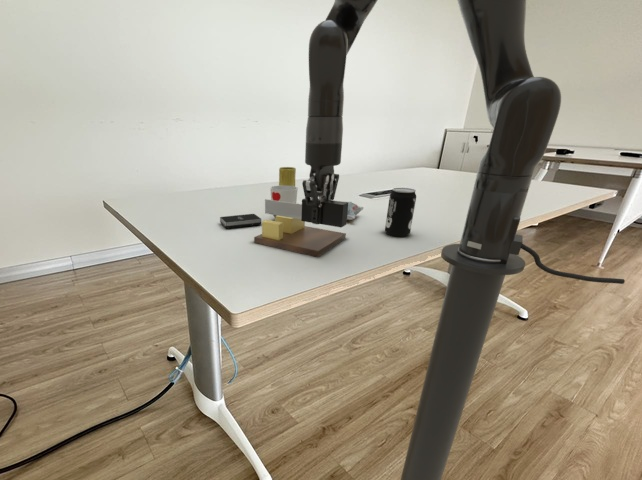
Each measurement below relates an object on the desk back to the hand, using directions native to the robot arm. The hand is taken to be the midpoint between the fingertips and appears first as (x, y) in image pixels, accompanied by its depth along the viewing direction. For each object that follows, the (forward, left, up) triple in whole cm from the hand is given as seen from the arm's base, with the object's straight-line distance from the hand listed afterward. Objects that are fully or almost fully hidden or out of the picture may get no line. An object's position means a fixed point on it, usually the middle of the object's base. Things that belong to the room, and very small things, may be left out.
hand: (319, 221), depth 78 cm
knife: (+4, 0, 0) cm, 4 cm away
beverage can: (-12, -25, -7) cm, 28 cm away
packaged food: (+6, -32, -7) cm, 33 cm away
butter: (+12, -8, -6) cm, 16 cm away
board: (+7, -5, -7) cm, 11 cm away
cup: (+21, -19, -7) cm, 29 cm away
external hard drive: (+29, -8, -7) cm, 31 cm away
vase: (+26, -29, -7) cm, 40 cm away
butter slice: (+12, +1, -6) cm, 13 cm away
